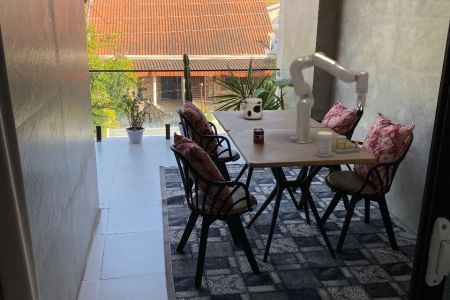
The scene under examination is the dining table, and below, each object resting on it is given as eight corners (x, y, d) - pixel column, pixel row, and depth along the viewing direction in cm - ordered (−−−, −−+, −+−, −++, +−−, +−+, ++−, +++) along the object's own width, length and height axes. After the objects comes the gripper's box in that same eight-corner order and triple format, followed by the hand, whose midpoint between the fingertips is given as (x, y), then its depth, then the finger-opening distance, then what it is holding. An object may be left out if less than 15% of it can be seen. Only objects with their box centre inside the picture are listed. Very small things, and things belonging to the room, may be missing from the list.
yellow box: (331, 148, 292) (332, 140, 291) (331, 143, 304) (332, 136, 302) (358, 149, 288) (358, 142, 287) (357, 145, 299) (358, 138, 298)
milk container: (240, 117, 403) (241, 98, 399) (258, 116, 408) (258, 97, 404) (247, 121, 387) (247, 100, 383) (265, 120, 392) (266, 100, 388)
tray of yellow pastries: (337, 153, 286) (338, 140, 283) (322, 146, 304) (323, 133, 302) (359, 152, 290) (360, 139, 287) (343, 144, 308) (344, 132, 306)
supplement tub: (321, 152, 290) (322, 130, 286) (334, 154, 283) (335, 132, 279) (313, 155, 283) (314, 132, 279) (326, 158, 277) (327, 135, 273)
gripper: (366, 92, 282) (364, 118, 286) (368, 89, 297) (367, 113, 302) (354, 91, 285) (352, 117, 289) (357, 88, 300) (355, 113, 304)
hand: (359, 115), depth 295 cm, fingers open, 9 cm apart
